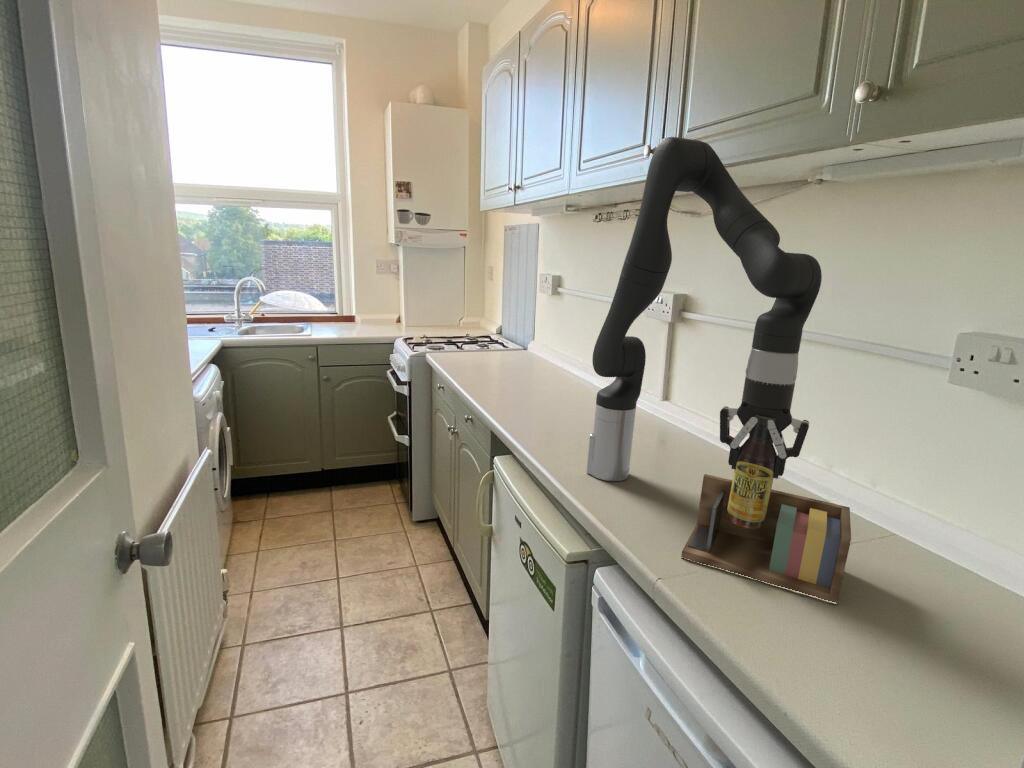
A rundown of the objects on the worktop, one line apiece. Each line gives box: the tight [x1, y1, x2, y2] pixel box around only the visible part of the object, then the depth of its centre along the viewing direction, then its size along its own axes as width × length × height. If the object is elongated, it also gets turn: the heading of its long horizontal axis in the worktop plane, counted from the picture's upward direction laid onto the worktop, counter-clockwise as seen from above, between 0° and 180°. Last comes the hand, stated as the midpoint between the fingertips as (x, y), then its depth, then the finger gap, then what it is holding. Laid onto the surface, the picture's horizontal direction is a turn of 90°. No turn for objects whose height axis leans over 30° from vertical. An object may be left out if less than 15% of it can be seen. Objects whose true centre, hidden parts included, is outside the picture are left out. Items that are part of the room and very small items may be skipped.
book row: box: [769, 504, 840, 588], centre depth 94 cm, size 9×9×9 cm
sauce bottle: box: [727, 415, 778, 530], centre depth 96 cm, size 7×6×20 cm
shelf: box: [680, 473, 852, 604], centre depth 97 cm, size 24×13×12 cm, turn 60°
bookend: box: [688, 490, 725, 553], centre depth 102 cm, size 4×9×8 cm, turn 150°
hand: (754, 472), depth 96 cm, fingers closed on sauce bottle, 6 cm apart
